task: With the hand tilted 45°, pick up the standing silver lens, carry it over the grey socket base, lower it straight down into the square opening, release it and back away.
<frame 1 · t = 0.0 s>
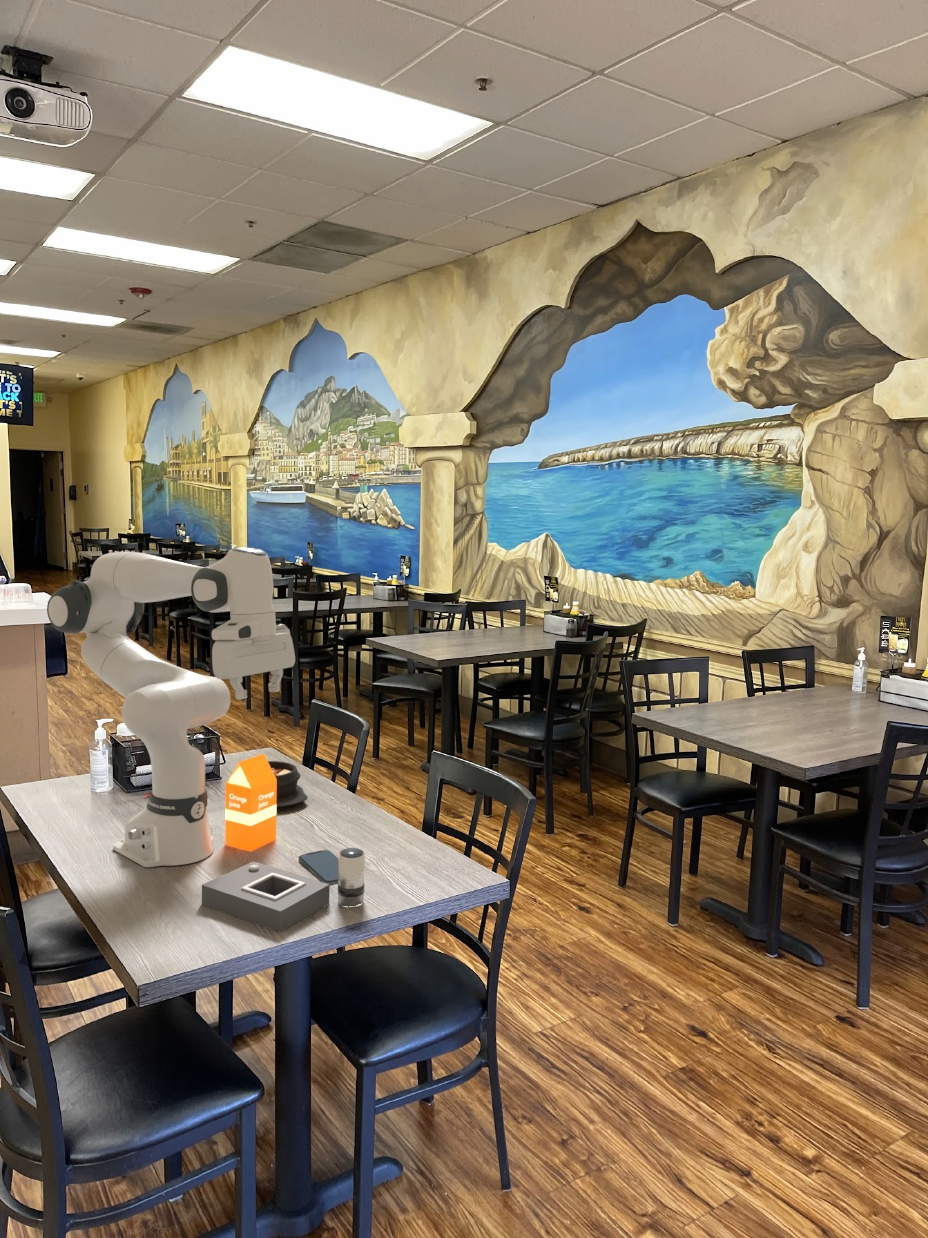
hand: (258, 695, 175), 39 cm above the table, tool pointing down, fingers open, 8 cm apart
grey socket base: (265, 904, 168), on the table
casserole: (267, 799, 229), on the table
smartphone: (327, 872, 185), on the table
orange juice: (251, 843, 199), on the table
lens: (350, 902, 170), on the table
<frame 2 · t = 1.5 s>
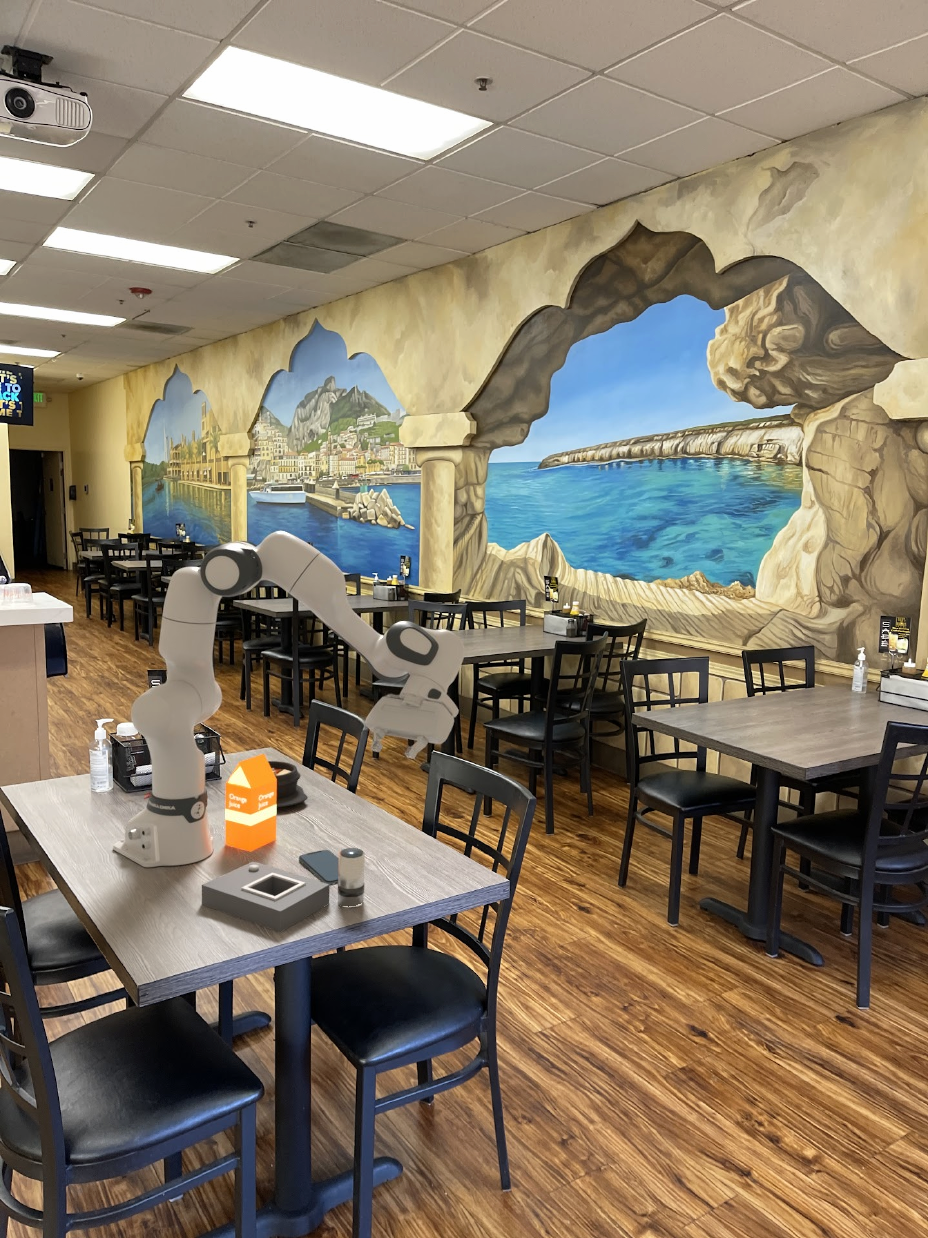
hand: (391, 753, 176), 28 cm above the table, tool tilted 45°, fingers open, 8 cm apart
nothing on the table moved.
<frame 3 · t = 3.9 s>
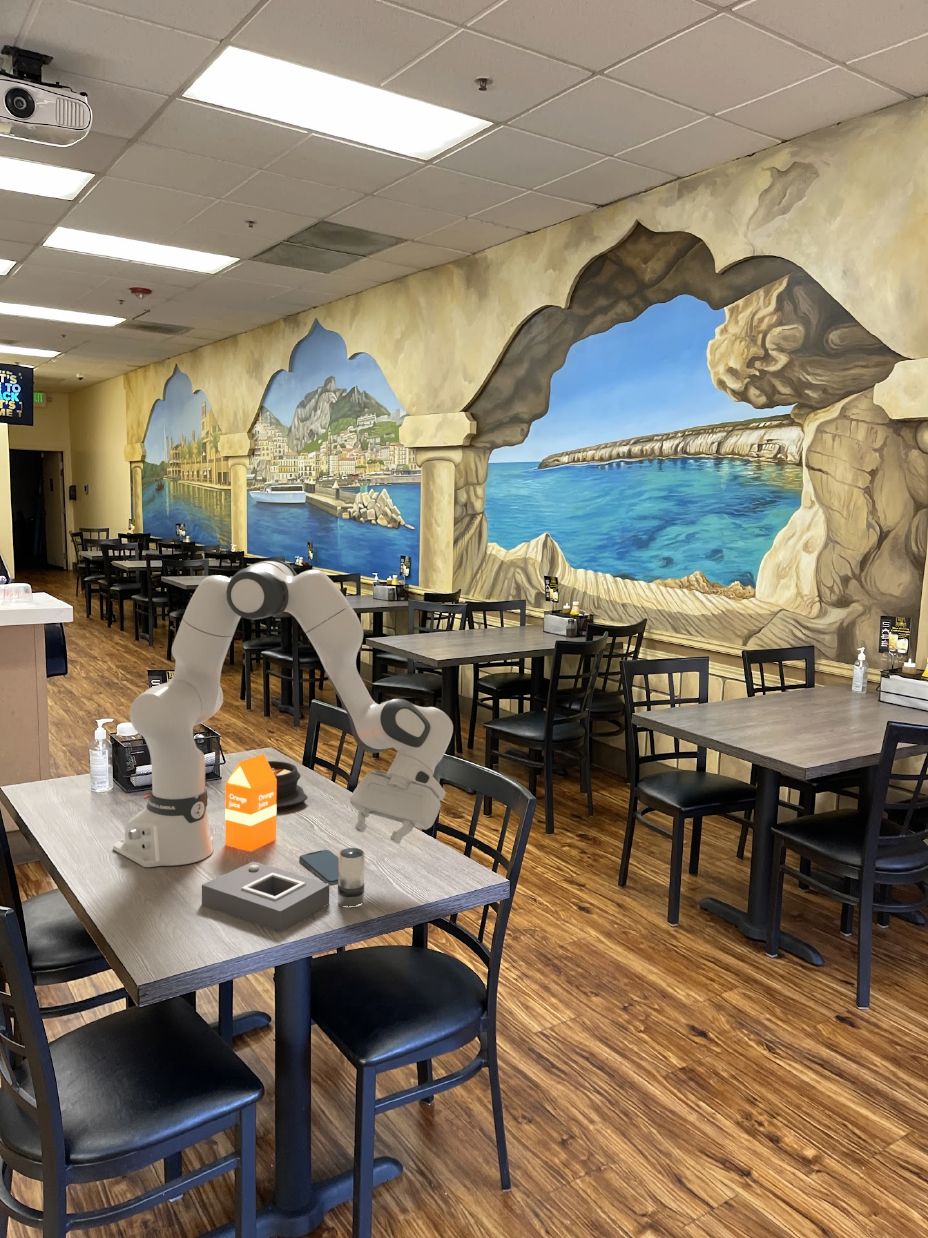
hand: (376, 836, 174), 11 cm above the table, tool tilted 45°, fingers open, 8 cm apart
nothing on the table moved.
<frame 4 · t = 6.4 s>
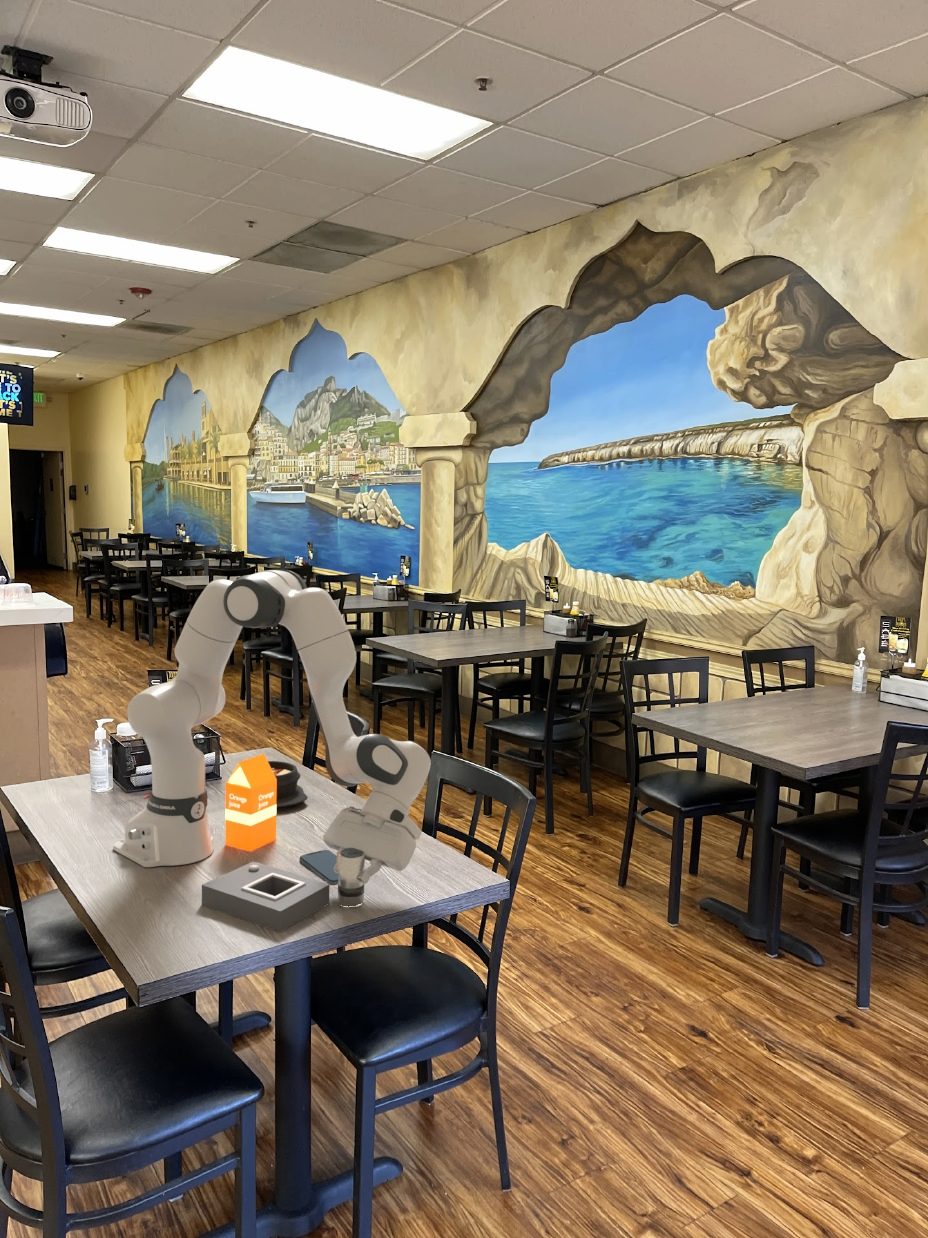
hand: (349, 877, 169), 5 cm above the table, tool tilted 45°, fingers closed on lens, 5 cm apart
lens: (350, 902, 170), on the table, touching gripper
everything else where it was.
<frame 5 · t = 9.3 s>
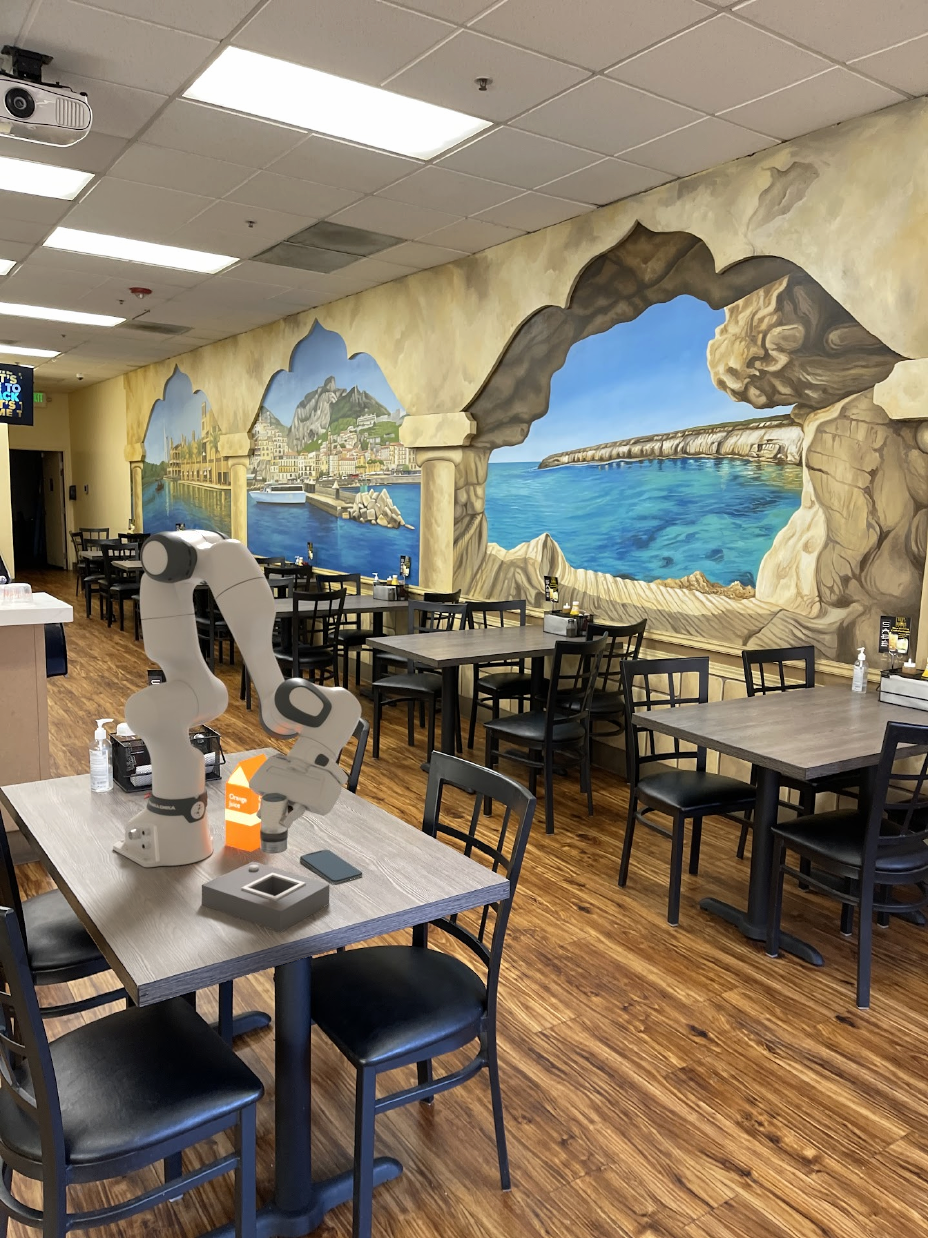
hand: (271, 822, 164), 17 cm above the table, tool tilted 45°, fingers closed on lens, 5 cm apart
lens: (273, 848, 165), point 12 cm above the table, touching gripper
everything else where it was.
when the fingers open (7 cm above the table, at t = 12.2 s): lens drops 1 cm, resting in grey socket base.
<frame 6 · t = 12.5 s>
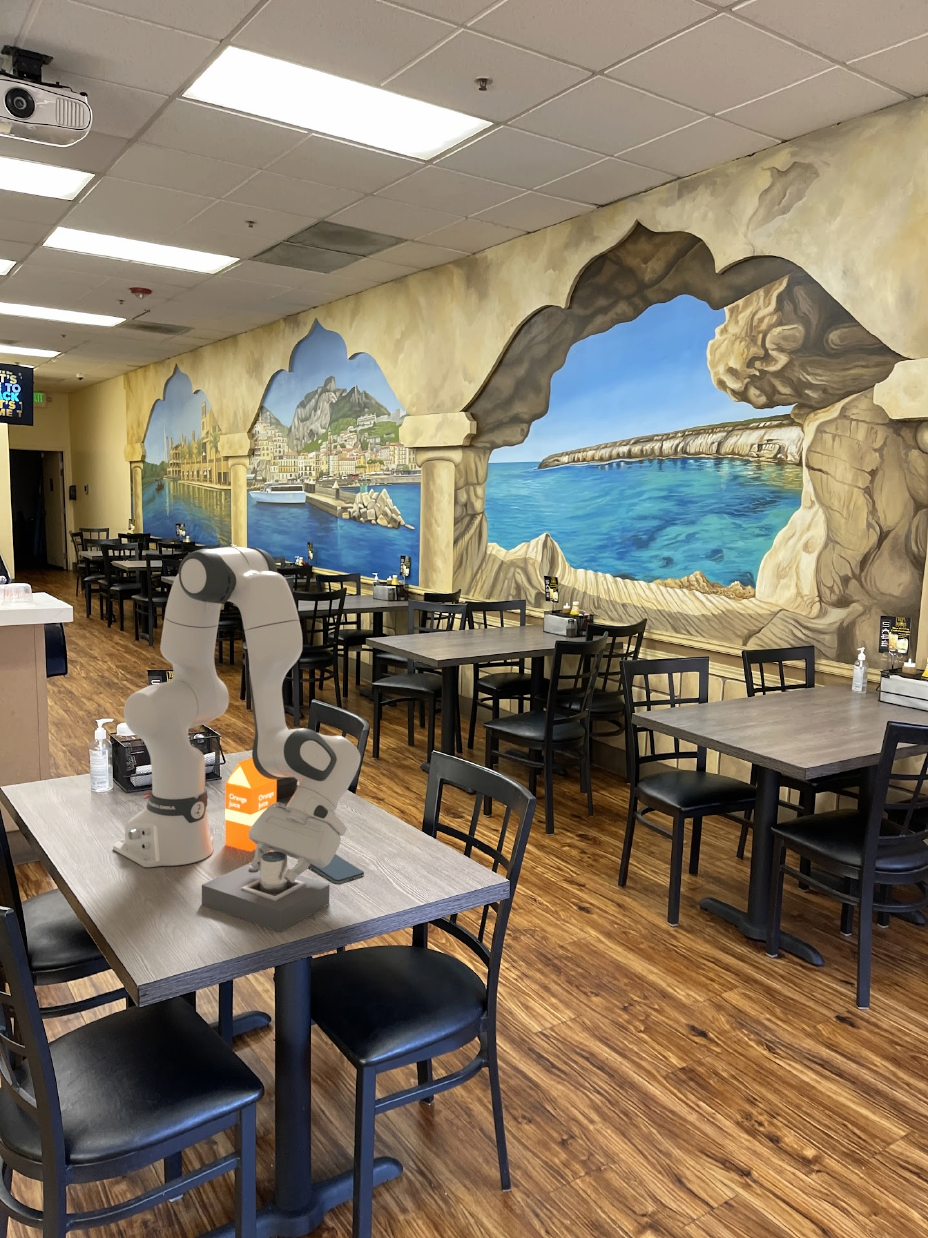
hand: (271, 874, 165), 7 cm above the table, tool tilted 45°, fingers open, 8 cm apart
lens: (273, 907, 167), resting in grey socket base
everything else where it was.
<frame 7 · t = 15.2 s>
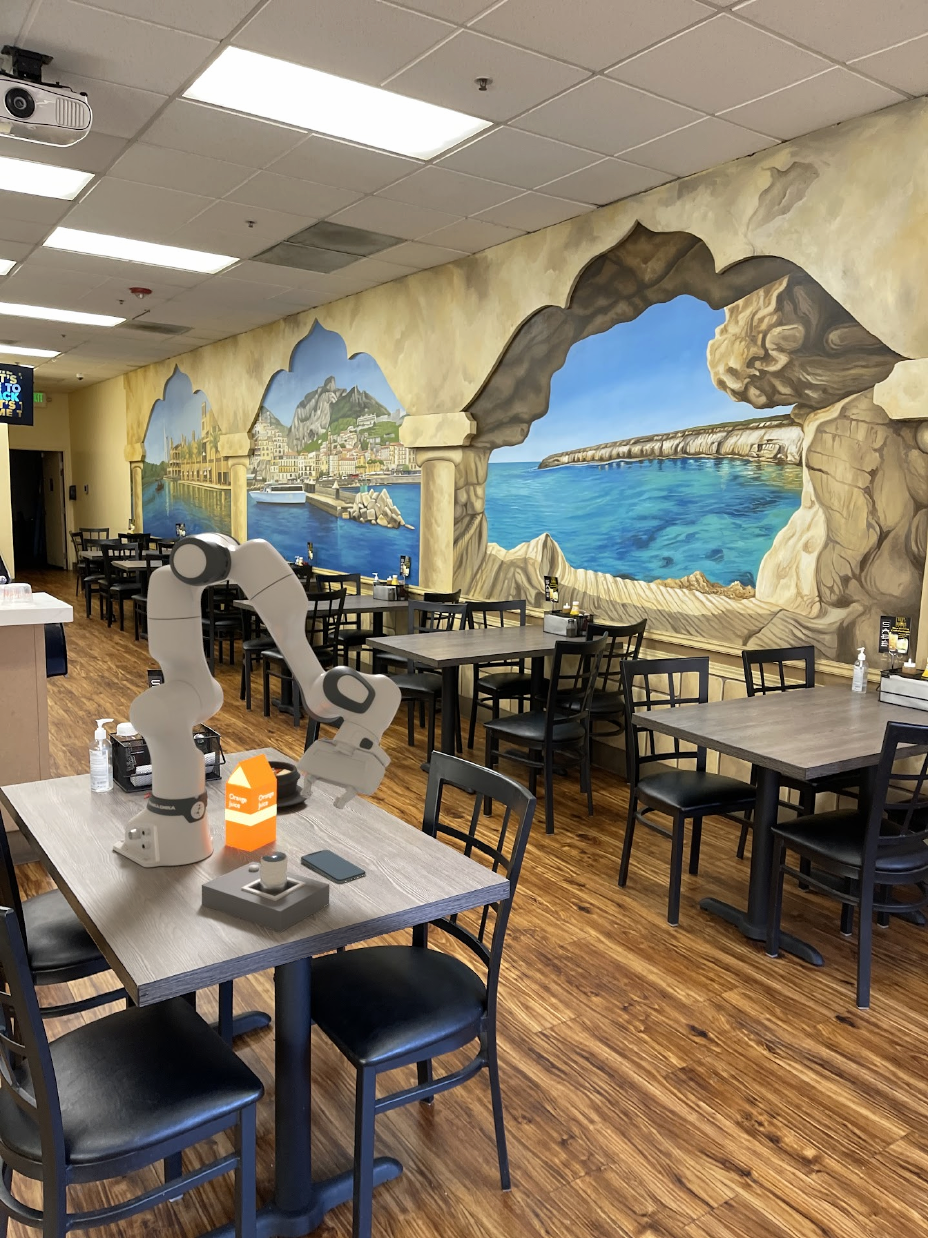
hand: (320, 802, 175), 18 cm above the table, tool tilted 45°, fingers open, 8 cm apart
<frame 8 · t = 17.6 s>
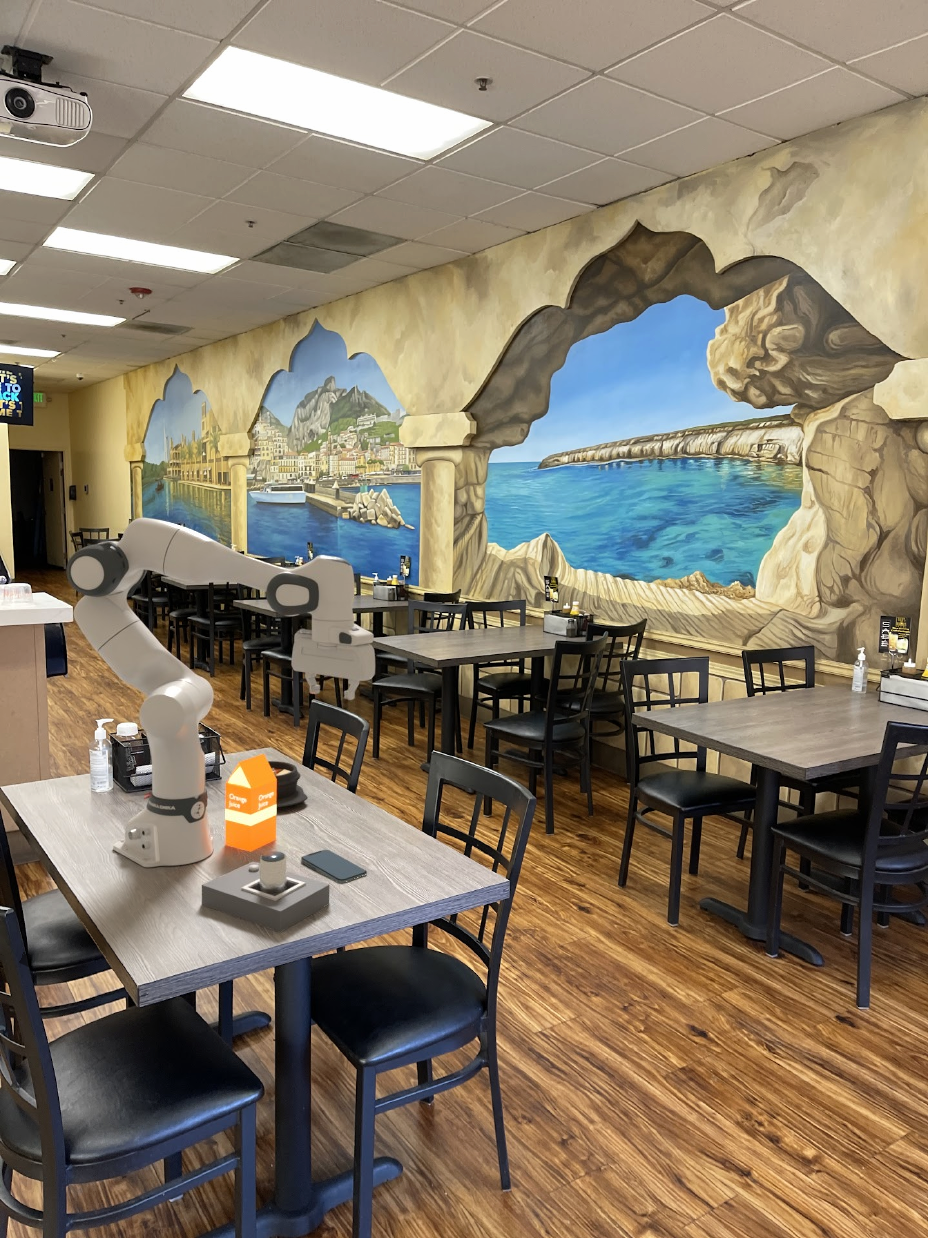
hand: (331, 696, 185), 37 cm above the table, tool pointing down, fingers open, 8 cm apart
at the end: lens 0.0 cm from the target spot on the grey socket base, point 0.0 cm above the grey socket base's base; lens tilted 1°; the gripper is holding nothing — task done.
